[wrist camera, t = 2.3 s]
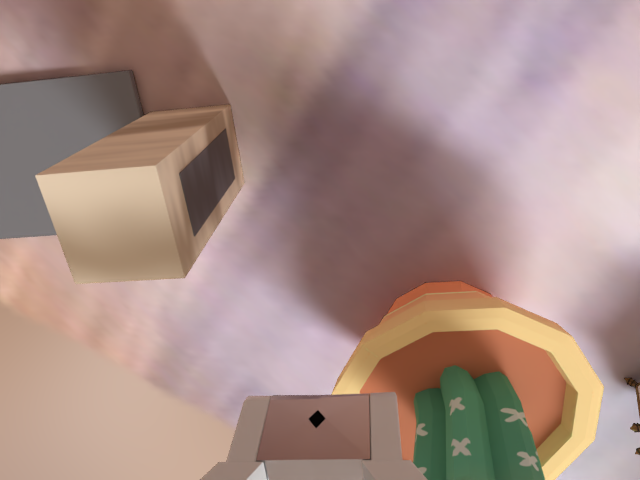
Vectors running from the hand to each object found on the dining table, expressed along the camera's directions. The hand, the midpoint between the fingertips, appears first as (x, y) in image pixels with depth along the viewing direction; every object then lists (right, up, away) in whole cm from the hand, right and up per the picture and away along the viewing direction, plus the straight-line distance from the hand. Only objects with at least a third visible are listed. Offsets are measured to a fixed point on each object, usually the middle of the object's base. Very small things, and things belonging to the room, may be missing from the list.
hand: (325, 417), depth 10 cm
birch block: (-8, +9, +21) cm, 24 cm away
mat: (-17, +9, +22) cm, 29 cm away
